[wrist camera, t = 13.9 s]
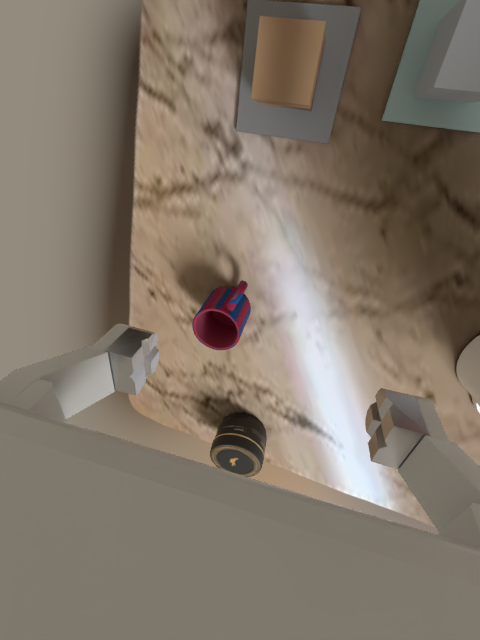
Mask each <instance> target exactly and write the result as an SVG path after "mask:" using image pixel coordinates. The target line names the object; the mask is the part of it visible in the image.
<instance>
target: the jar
mask: <svg viewBox="0 0 480 640" xmlns="http://www.w3.org/2000/svg"><path fill="white" fill-rule="evenodd" d="M266 440H267V439H266V430H265V428H264V426H263V425H262V423H261V422H260V421H259V420H257V419H256V418H254V417H252V416H250V415H247V414H243V413H235V414H231V415H229V416H227V417H226V418H225V419H224V420H223V421H222V423H221V424H220V426H219V428H218V431H217V434H216V437H215V439H214V440H213V443H212V447H211V451H210V457H211V460H212V462H213V463H214V464H215V465H216V466H217V467H218V468H219V469H222V470H225V471H229V472H232V473H235V474H239V475H242V476H245V477H251V476H254V475H256V474H258V473H259V471H260V470H261V468H262V464H263V460H264V452H265V446H266Z"/></svg>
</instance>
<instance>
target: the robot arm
mask: <svg viewBox="0 0 480 640" xmlns="http://www.w3.org/2000/svg"><path fill="white" fill-rule="evenodd" d="M157 343H158V335H157V334H156V333H154V332H151V331H147V330H143V329H139V328H136V327H131V326H127V325H124V324H117V325H115V326H114V327H113V328H112V329H111V330H110V331H109V332H107V333H106V334H105V335H104V336H103V337H102V338H101V339H100V340H98V341H97V342H96V343H95V344H94V345H93V346H92V347H91V348H90V347H84V348H81V349H78V350H75V351H72V352H69V353H66V354H63V355H60V356H57V357H54V358H50V359H48V360H44V361H41V362H38V363H35V364H32V365H29V366H26V367H23V368H20V369H17V370H14V371H12V372H11V373H10V374H8V375H7V376H6V377H4V378H3V379H2V380H1V381H0V640H480V466H478V465H477V464H476V463H475V462H474V461H473V460H472V459H471V458H470V457H469V456H468V455H467V454H466V453H465V452H464V451H463V450H461V449H460V448H459V447H458V446H457V445H456V444H455V443H453V442H450V441H449V440H448V438H447V435H446V433H445V431H444V428H443V426H442V424H441V421H440V419H439V417H438V414H437V412H436V410H435V407H434V405H433V403H432V401H431V400H430V399H427V398H422V397H418V396H412V395H408V394H404V393H399V392H395V391H391V390H387V389H383V388H381V389H380V390H379V391H378V392H377V394H376V401H377V402H375V403H373V404H371V405H370V407H369V409H368V411H367V415H366V432H367V433H368V434H369V435H370V437H371V439H370V441H369V443H368V445H369V451H370V457H371V461H372V462H376V463H379V464H382V465H385V466H389V467H392V468H395V469H398V472H399V473H400V475H401V476H402V478H403V479H404V480H405V482H406V483H407V485H408V486H409V488H410V489H411V491H412V492H413V494H414V495H415V497H416V498H417V500H418V501H419V503H420V504H421V506H422V507H423V509H424V510H425V512H426V513H427V515H428V516H429V518H430V519H431V520H432V522H433V523H434V525H435V526H436V528H437V529H438V531H439V532H438V533H437V534H433V533H429V532H426V531H423V530H420V529H416V528H413V527H410V526H406V525H403V524H399V523H396V522H393V521H390V520H387V519H383V518H380V517H377V516H373V515H370V514H367V513H364V512H360V511H357V510H354V509H350V508H347V507H344V506H341V505H337V504H334V503H331V502H327V501H324V500H321V499H318V498H314V497H311V496H307V495H304V494H301V493H298V492H294V491H291V490H288V489H285V488H281V487H278V486H275V485H271V484H268V483H265V482H261V481H258V480H255V479H252V478H248V477H245V476H242V475H239V474H235V473H232V472H229V471H225V470H222V469H219V468H215V467H212V466H209V465H206V464H202V463H199V462H196V461H193V460H189V459H186V458H183V457H180V456H176V455H173V454H170V453H166V452H163V451H160V450H156V449H153V448H150V447H147V446H143V445H140V444H137V443H133V442H130V441H127V440H124V439H120V438H117V437H113V436H110V435H107V434H104V433H101V432H98V431H94V430H91V429H88V428H84V427H81V426H78V425H75V424H71V423H68V422H67V421H66V419H67V418H69V417H71V416H72V415H74V414H76V413H78V412H79V411H81V410H83V409H85V408H86V407H88V406H90V405H92V404H94V403H95V402H97V401H99V400H101V399H102V398H104V397H106V396H107V395H109V394H111V393H113V392H115V390H116V391H120V392H124V393H129V394H133V395H137V394H138V393H139V391H140V390H141V389H142V387H143V386H144V384H145V383H146V379H145V377H147V376H149V375H151V374H152V373H153V372H154V370H155V369H156V367H157V364H158V361H159V350H158V349H157V348H156V344H157ZM456 372H457V377H458V379H459V381H460V383H461V385H462V386H463V387H464V388H465V389H466V390H467V391H468V392H469V393H470V394H471V396H472V402H473V405H474V407H475V408H476V410H477V411H478V412H479V413H480V335H479V336H477V337H476V338H475V339H474V340H472V341H471V342H470V343H469V344H468V345H467V346H466V348H465V349H464V350H463V352H462V353H461V355H460V357H459V359H458V362H457V367H456Z"/></svg>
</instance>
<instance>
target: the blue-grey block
mask: <svg viewBox="0 0 480 640" xmlns="http://www.w3.org/2000/svg"><path fill="white" fill-rule="evenodd" d="M413 97H417V98H426V99H435V100H444V101H453V102H462V103H475V102H479V101H480V0H460V1H459V2H458V3H457V4H456V5H455V6H454V7H453V8H452V9H451V10H450V11H449V12H448V13H447V14H446V15H445V16H444V17H443V18H442V19H441V20H440V22H439V25H438V27H437V30H436V33H435V36H434V39H433V41H432V44H431V47H430V50H429V53H428V56H427V58H426V61H425V64H424V67H423V70H422V72H421V75H420V78H419V81H418V84H417V87H416V89H415V92H414V95H413Z"/></svg>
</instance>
